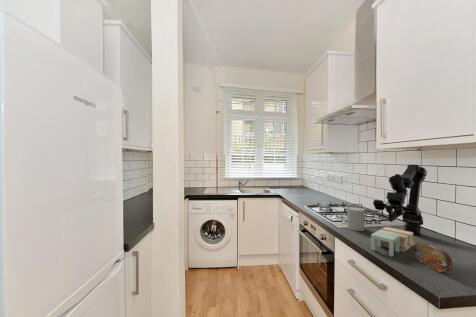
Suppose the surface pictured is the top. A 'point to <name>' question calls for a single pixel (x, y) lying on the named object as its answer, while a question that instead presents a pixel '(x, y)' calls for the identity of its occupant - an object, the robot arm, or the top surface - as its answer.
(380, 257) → the top surface
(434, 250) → the tin
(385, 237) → the green notched block
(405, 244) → the beige ridged block
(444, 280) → the top surface
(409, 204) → the robot arm
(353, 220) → the grey round cylinder
